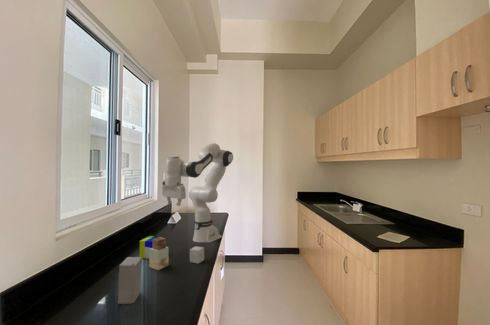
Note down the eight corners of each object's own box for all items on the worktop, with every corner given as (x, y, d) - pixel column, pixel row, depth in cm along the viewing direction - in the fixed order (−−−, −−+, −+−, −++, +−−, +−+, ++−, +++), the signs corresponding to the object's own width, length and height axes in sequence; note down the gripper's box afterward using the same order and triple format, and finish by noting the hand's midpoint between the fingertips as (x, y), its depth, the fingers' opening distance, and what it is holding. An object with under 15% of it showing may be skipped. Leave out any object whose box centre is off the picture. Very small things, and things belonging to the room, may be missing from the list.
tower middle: (160, 254, 136) (160, 245, 136) (168, 256, 133) (168, 247, 133) (149, 257, 130) (149, 248, 130) (157, 260, 127) (157, 251, 127)
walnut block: (160, 245, 135) (160, 236, 135) (165, 247, 132) (165, 238, 132) (152, 248, 131) (152, 238, 131) (157, 250, 128) (157, 240, 128)
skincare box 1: (125, 293, 103) (125, 256, 103) (142, 293, 104) (142, 256, 104) (116, 305, 95) (117, 264, 95) (135, 304, 95) (135, 264, 96)
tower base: (159, 262, 136) (159, 253, 136) (168, 265, 133) (168, 256, 133) (149, 267, 130) (149, 258, 130) (158, 270, 127) (158, 260, 127)
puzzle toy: (154, 259, 142) (154, 242, 142) (139, 257, 144) (139, 240, 144) (163, 253, 151) (163, 237, 151) (149, 251, 153) (149, 236, 153)
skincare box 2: (204, 260, 140) (204, 247, 140) (198, 263, 135) (198, 250, 135) (195, 258, 143) (195, 245, 143) (189, 262, 137) (189, 249, 137)
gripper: (188, 183, 146) (188, 206, 146) (169, 181, 159) (169, 202, 159) (179, 184, 141) (179, 207, 141) (160, 182, 154) (160, 203, 154)
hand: (174, 204), depth 150 cm, fingers open, 8 cm apart
